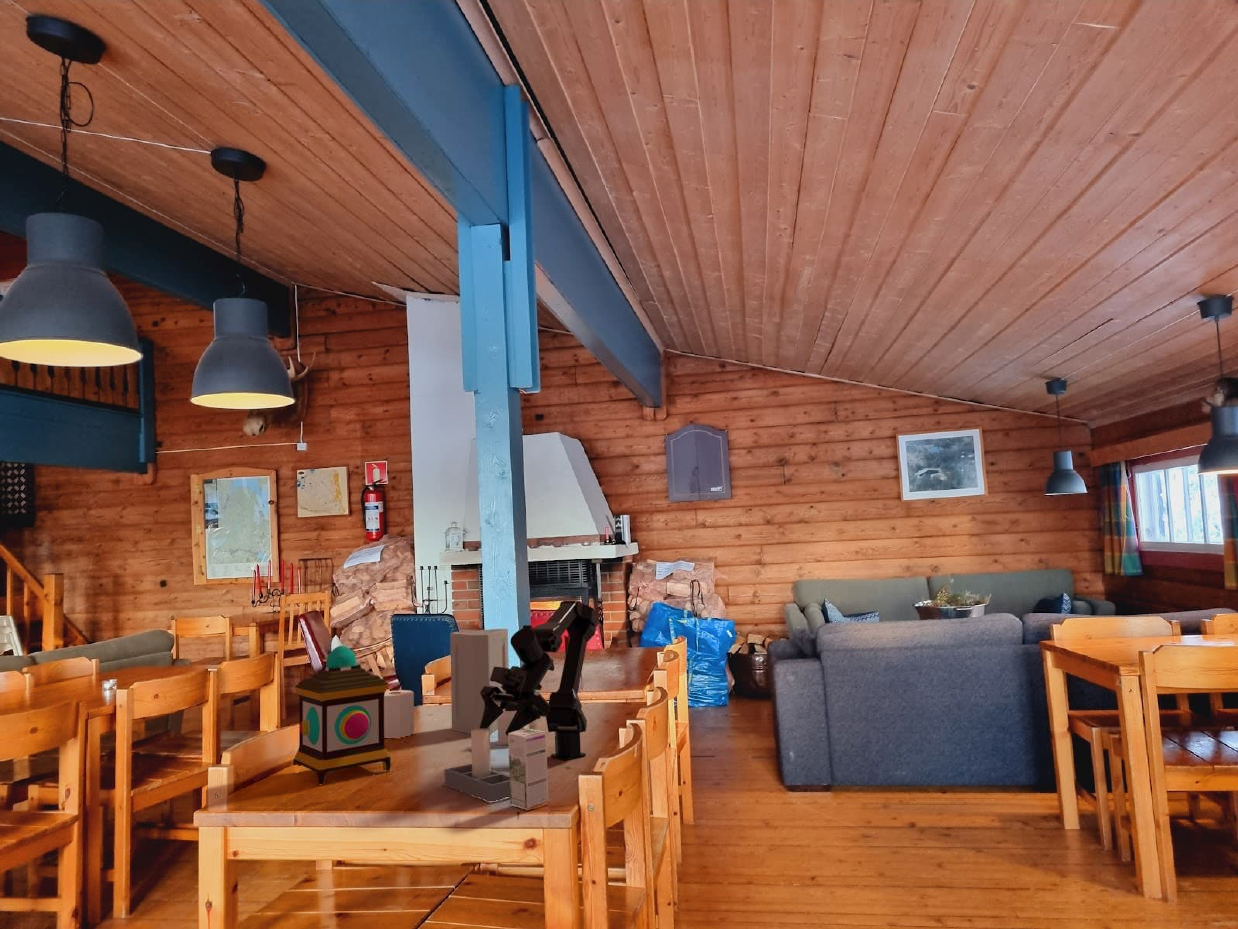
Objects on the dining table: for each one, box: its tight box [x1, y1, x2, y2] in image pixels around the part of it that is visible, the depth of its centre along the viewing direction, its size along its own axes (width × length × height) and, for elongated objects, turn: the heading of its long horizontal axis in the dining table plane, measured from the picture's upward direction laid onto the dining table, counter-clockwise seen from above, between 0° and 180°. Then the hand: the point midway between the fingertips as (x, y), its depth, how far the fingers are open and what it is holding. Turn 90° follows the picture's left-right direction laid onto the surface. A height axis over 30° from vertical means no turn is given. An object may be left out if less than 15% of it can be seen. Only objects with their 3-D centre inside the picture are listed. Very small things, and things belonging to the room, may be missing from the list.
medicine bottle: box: [497, 704, 530, 746], centre depth 229 cm, size 7×7×12 cm
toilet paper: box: [384, 689, 415, 738], centre depth 244 cm, size 10×10×12 cm
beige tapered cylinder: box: [470, 729, 492, 779], centre depth 182 cm, size 4×4×12 cm
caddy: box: [444, 763, 510, 801], centre depth 181 cm, size 20×7×4 cm, turn 40°
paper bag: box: [449, 628, 510, 736], centre depth 251 cm, size 19×15×28 cm
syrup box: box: [508, 728, 549, 808], centre depth 169 cm, size 6×6×14 cm
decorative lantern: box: [292, 645, 392, 785], centre depth 204 cm, size 20×20×30 cm
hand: (493, 732), depth 185 cm, fingers open, 9 cm apart
